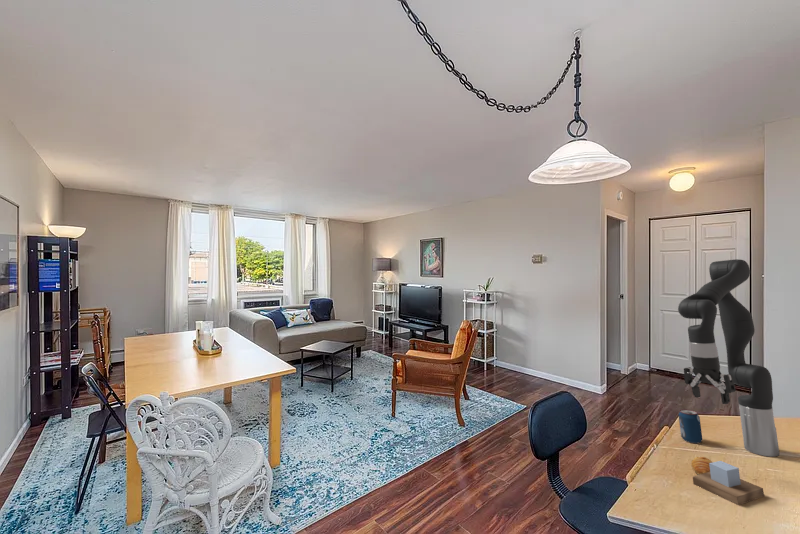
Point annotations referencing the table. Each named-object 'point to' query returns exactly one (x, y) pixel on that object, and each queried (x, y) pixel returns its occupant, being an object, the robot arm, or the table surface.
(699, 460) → the pastry
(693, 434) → the soda can
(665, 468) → the table surface
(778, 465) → the table surface
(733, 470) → the blue cube
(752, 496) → the walnut base
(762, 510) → the table surface
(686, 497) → the table surface
